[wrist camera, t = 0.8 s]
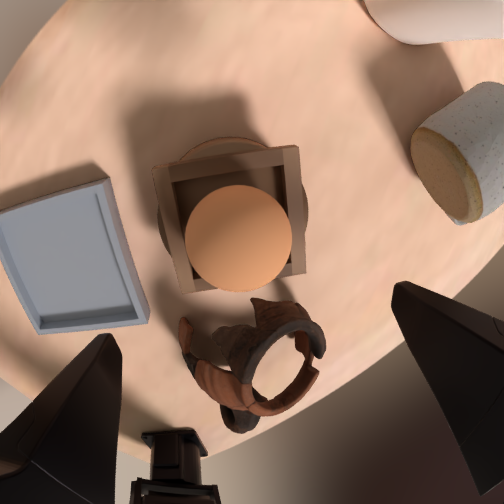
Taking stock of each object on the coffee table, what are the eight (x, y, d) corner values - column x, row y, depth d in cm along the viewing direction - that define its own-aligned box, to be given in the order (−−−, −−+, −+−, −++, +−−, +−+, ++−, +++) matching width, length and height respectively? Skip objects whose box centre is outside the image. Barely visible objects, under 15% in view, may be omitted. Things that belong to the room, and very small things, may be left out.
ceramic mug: (386, 123, 18) (468, 146, 11) (458, 76, 16) (537, 86, 10) (433, 237, 22) (493, 287, 16) (491, 186, 21) (553, 220, 14)
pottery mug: (166, 280, 21) (227, 325, 15) (270, 267, 27) (347, 294, 20) (174, 411, 24) (225, 474, 17) (261, 382, 29) (320, 426, 23)
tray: (150, 310, 22) (147, 323, 20) (44, 323, 21) (38, 334, 20) (109, 177, 17) (102, 183, 16) (-4, 212, 16) (-15, 220, 15)
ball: (282, 252, 17) (306, 302, 13) (197, 266, 17) (195, 321, 13) (275, 168, 15) (301, 195, 11) (179, 183, 15) (168, 216, 11)
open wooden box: (297, 249, 21) (314, 278, 18) (180, 269, 20) (175, 302, 17) (288, 129, 17) (307, 135, 14) (153, 150, 17) (139, 161, 13)
